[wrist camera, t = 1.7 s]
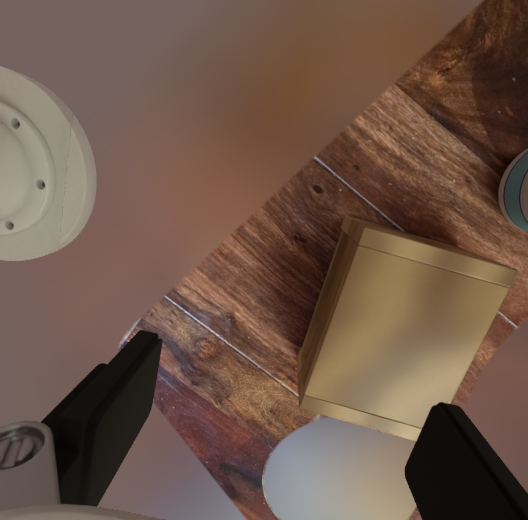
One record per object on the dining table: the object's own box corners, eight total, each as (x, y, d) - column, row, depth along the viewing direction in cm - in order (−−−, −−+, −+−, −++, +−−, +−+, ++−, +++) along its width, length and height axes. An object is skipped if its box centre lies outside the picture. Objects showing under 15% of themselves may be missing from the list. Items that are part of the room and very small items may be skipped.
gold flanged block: (296, 356, 30) (299, 408, 23) (344, 214, 26) (364, 226, 20) (397, 385, 30) (429, 445, 23) (459, 247, 26) (519, 270, 20)
